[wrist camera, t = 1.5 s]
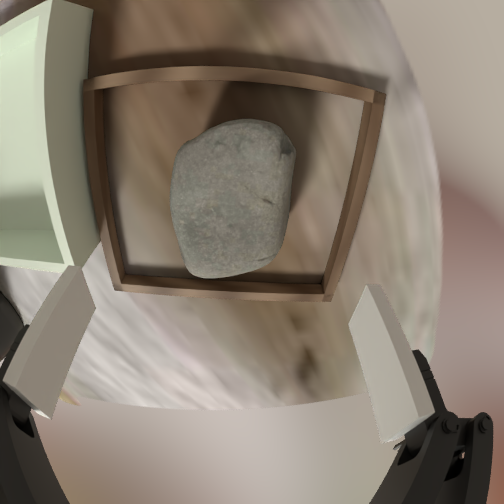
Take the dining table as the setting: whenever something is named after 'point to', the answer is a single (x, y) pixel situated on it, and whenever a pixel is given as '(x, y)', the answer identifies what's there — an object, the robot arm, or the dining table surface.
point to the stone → (232, 197)
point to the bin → (45, 139)
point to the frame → (217, 288)
